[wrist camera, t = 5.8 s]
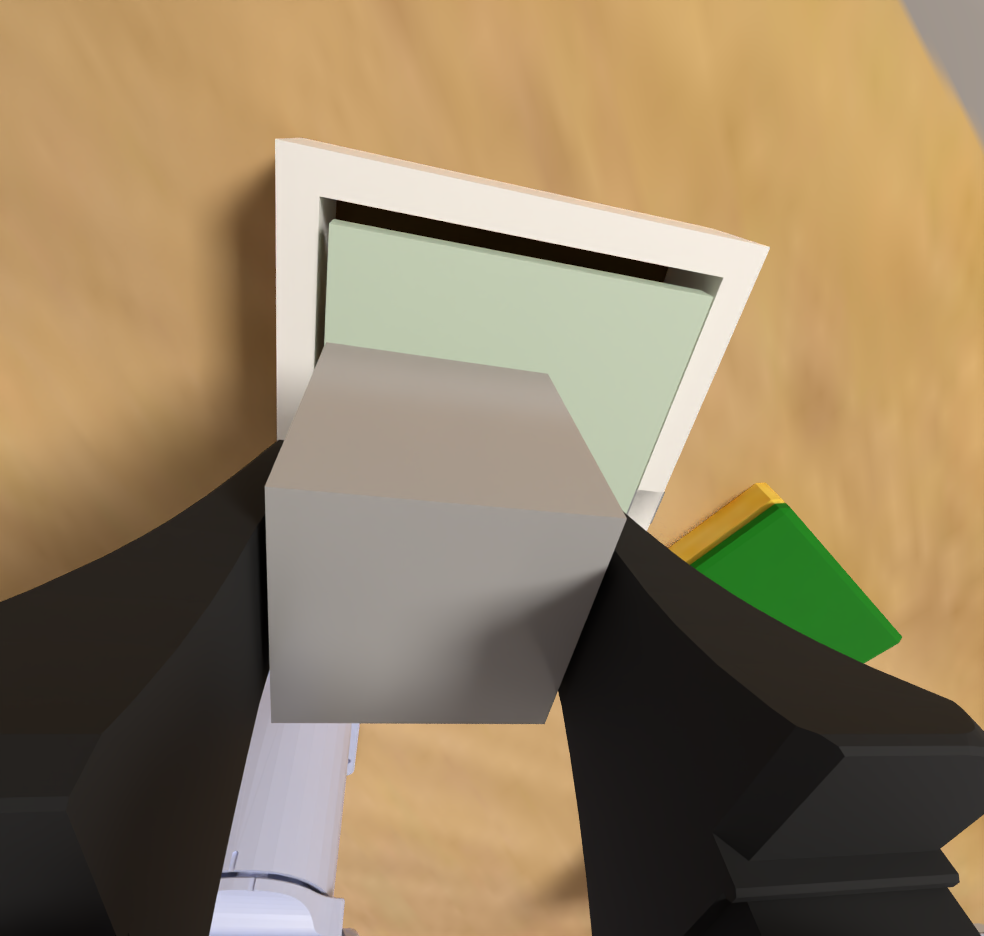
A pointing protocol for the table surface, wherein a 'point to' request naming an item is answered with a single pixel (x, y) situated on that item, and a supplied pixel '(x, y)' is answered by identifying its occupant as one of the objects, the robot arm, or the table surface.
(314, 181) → the trapdoor frame
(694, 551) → the dish sponge
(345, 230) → the trapdoor
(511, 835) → the table surface
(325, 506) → the grey block
